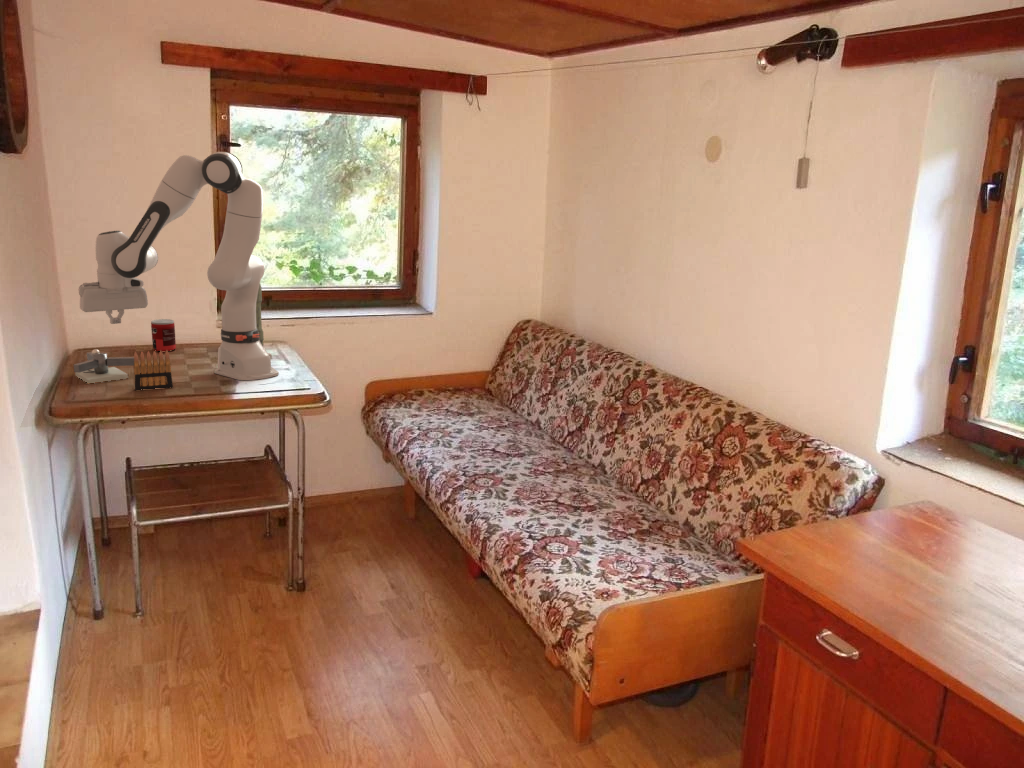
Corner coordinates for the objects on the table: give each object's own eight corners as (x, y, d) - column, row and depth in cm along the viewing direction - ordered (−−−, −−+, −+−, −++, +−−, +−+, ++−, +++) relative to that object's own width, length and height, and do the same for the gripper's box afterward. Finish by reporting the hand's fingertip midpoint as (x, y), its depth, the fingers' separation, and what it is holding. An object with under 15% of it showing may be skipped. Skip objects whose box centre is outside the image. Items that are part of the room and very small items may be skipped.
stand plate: (128, 378, 261) (127, 373, 260) (88, 384, 252) (87, 379, 252) (115, 371, 269) (114, 366, 268) (75, 376, 261) (75, 371, 260)
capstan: (137, 371, 262) (136, 351, 261) (76, 380, 250) (74, 358, 248) (120, 362, 273) (118, 342, 272) (60, 369, 261) (58, 349, 259)
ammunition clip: (172, 386, 254) (169, 349, 251) (173, 387, 253) (170, 350, 250) (134, 389, 249) (131, 351, 246) (135, 390, 248) (132, 352, 245)
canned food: (156, 347, 304) (154, 318, 301) (178, 348, 305) (176, 319, 302) (150, 352, 297) (147, 322, 294) (172, 352, 298) (170, 323, 295)
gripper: (81, 284, 254) (84, 327, 257) (148, 281, 268) (150, 322, 271) (74, 281, 258) (78, 324, 262) (141, 278, 272) (143, 319, 276)
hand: (115, 323), depth 267 cm, fingers closed
